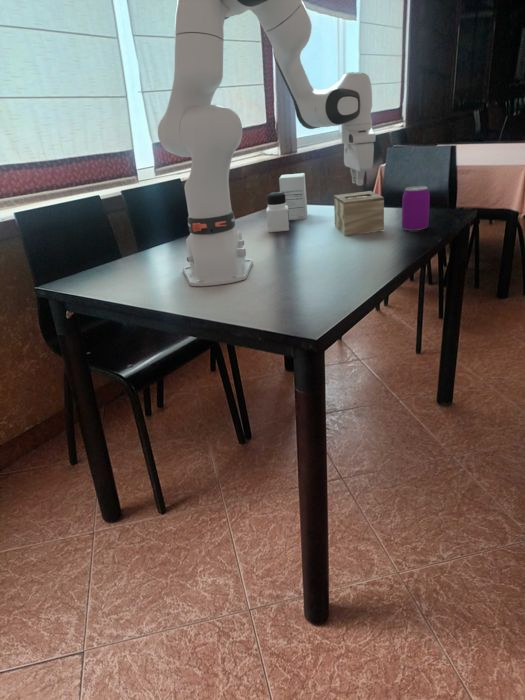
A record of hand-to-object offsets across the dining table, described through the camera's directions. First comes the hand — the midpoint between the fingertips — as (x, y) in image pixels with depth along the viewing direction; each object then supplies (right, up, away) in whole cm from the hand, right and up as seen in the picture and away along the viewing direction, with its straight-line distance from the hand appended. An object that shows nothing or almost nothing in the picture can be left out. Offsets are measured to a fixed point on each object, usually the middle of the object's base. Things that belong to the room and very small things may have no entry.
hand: (357, 184), depth 151 cm
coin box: (+1, -12, +6) cm, 14 cm away
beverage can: (+17, -14, -2) cm, 22 cm away
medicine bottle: (-23, -10, +17) cm, 31 cm away
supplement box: (-17, -2, +33) cm, 37 cm away
